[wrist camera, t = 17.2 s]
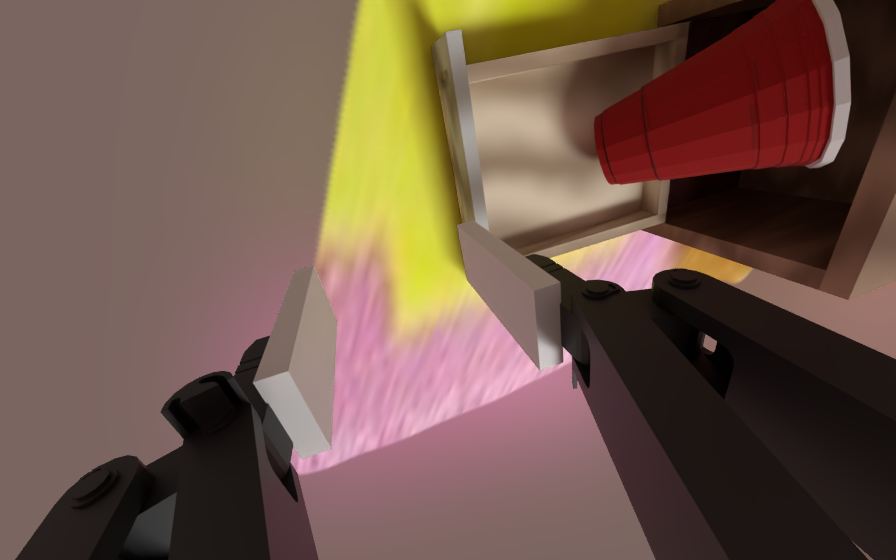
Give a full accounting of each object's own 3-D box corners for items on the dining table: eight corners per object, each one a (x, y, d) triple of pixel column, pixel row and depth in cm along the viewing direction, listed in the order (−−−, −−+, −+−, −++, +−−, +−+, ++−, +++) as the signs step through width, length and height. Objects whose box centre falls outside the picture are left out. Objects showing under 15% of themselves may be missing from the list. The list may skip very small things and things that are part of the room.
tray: (430, 46, 23) (445, 31, 20) (659, 5, 27) (706, -14, 23) (472, 283, 32) (488, 301, 29) (639, 230, 36) (671, 241, 32)
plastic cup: (624, 179, 33) (795, 130, 25) (614, 239, 26) (844, 197, 19) (594, 67, 28) (793, -34, 21) (572, 104, 21) (859, -28, 14)
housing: (659, 5, 27) (1047, -150, 12) (795, -20, 29) (1261, -175, 14) (639, 229, 36) (848, 299, 21) (745, 196, 38) (999, 239, 23)
